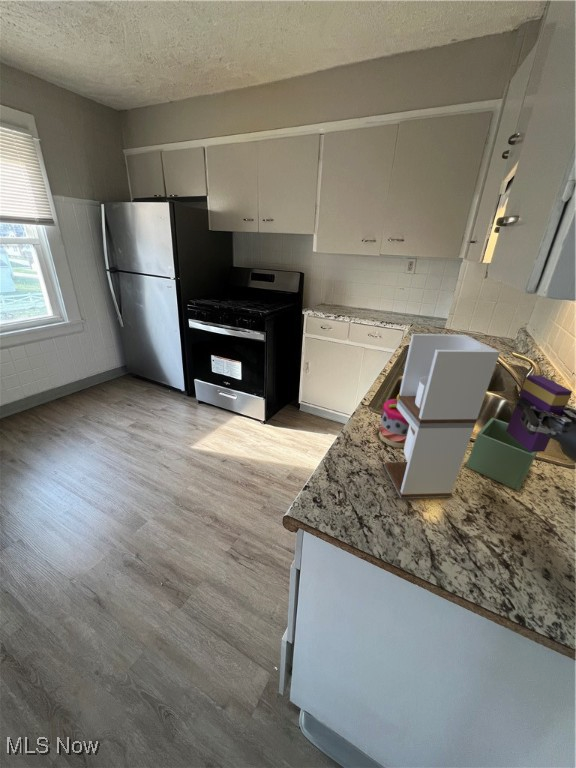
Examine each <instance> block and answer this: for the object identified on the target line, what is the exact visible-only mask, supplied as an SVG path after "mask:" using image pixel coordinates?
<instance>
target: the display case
mask: <svg viewBox="0 0 576 768" xmlns="http://www.w3.org/2000/svg"><path fill="white" fill-rule="evenodd" d="M500 354H501V351H499V350H497V349H495V348H493V347H491V346H489V345H487V344H485V343H483V342H481V341H480V340H477V339H475V338H473V337H471V336H469V335H467V334H454V333H453V334H451V333H450V334H449V333H447V334H446V333H444V334H443V333H436V334H435V333H411V335H410V339H409V346H408V351H407V355H406V359H405V360H406V361H405V364H404V369H403V373H402V374H403V375H402V379H401V383H400V389H399V393H398V394H399V398H398V403H397V409H398V410H399V411H400V413H401V414H402V415H403V417H404V418H405V419H406V421H407V422H408V423H409V424H410V425H409V429H408V433H407V437H406V441H405V446H404V448H403V455H404V458H405V460H406V461H391V462H390V461H387V462H386V461H385V462H384V465H383V467H384V469H385V471H386V473H387V475H388V477H389V478H390V481H391V483H392V484H393V486H394V488H395V491H396V492H397V494H398V496H399V498H400V499H401V500H402V499H434V498H438V499H439V498H451V497H452V494H453V491H454V489H455V485H456V483H457V480H458V476H459V473H460V470H461V468H462V465H463V461H464V459H465V456H466V453H467V450H468V447H469V444H470V442H471V438H472V435H473V433H474V430H475V427H476V424H477V421H478V418H479V415H480V412H481V409H482V406H483V404H484V400H485V398H486V395H487V392H488V389H489V386H490V383H491V380H492V378H493V377H492V376H493V374H494V372H495V369H496V366H497V363H498V359H499V357H500Z"/></svg>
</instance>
